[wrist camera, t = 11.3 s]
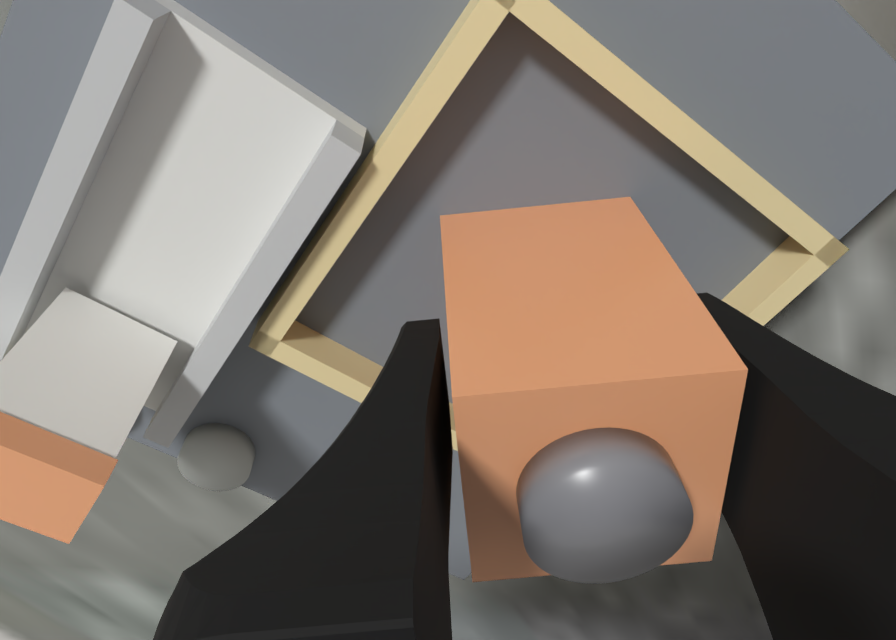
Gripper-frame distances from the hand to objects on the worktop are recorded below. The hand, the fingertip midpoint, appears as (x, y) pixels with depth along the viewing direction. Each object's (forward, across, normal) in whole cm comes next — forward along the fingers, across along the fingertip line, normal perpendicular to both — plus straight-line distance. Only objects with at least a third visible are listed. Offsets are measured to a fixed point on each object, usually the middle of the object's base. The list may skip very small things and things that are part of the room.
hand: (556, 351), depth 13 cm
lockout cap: (+3, 0, 0) cm, 3 cm away
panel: (+4, +3, -1) cm, 5 cm away
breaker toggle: (+2, +9, 0) cm, 10 cm away
